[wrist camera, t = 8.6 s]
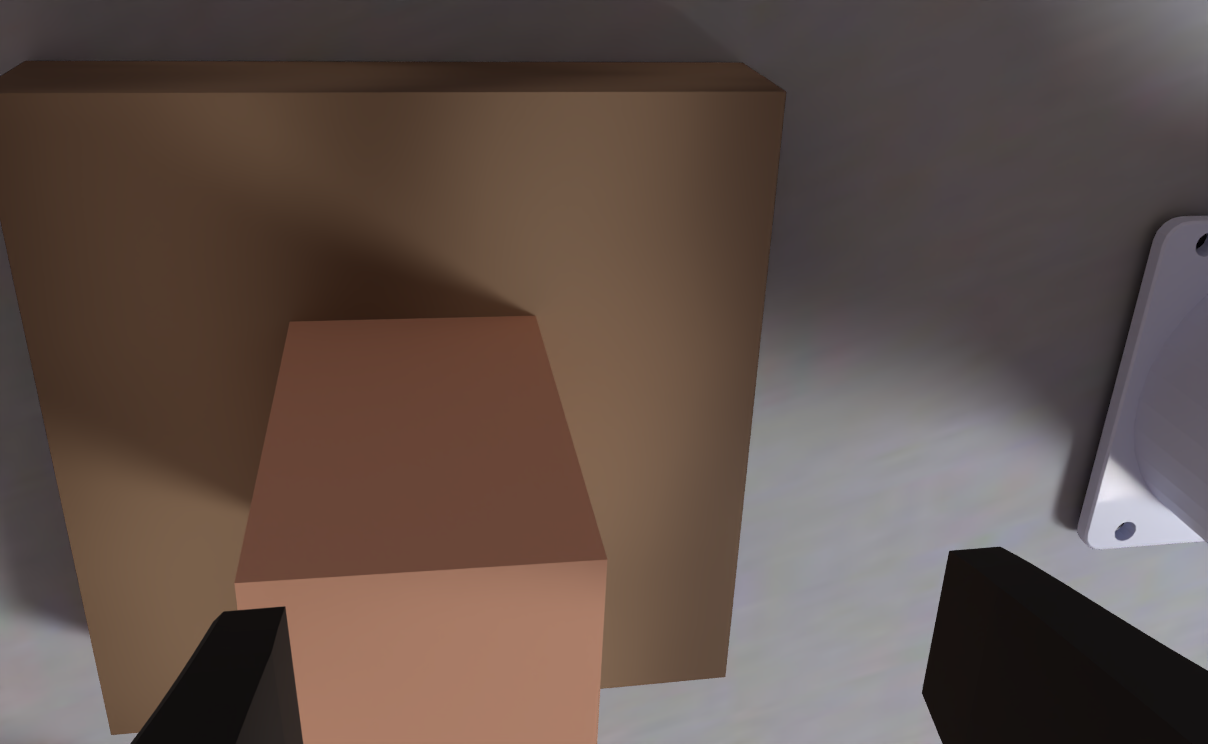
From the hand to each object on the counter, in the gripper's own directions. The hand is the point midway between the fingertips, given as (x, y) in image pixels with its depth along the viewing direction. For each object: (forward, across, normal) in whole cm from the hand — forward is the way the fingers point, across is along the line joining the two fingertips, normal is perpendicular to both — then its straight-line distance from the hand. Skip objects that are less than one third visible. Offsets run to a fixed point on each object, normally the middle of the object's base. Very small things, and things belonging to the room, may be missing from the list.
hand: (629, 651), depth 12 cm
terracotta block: (+8, +2, +1) cm, 8 cm away
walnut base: (+10, +2, +2) cm, 11 cm away
